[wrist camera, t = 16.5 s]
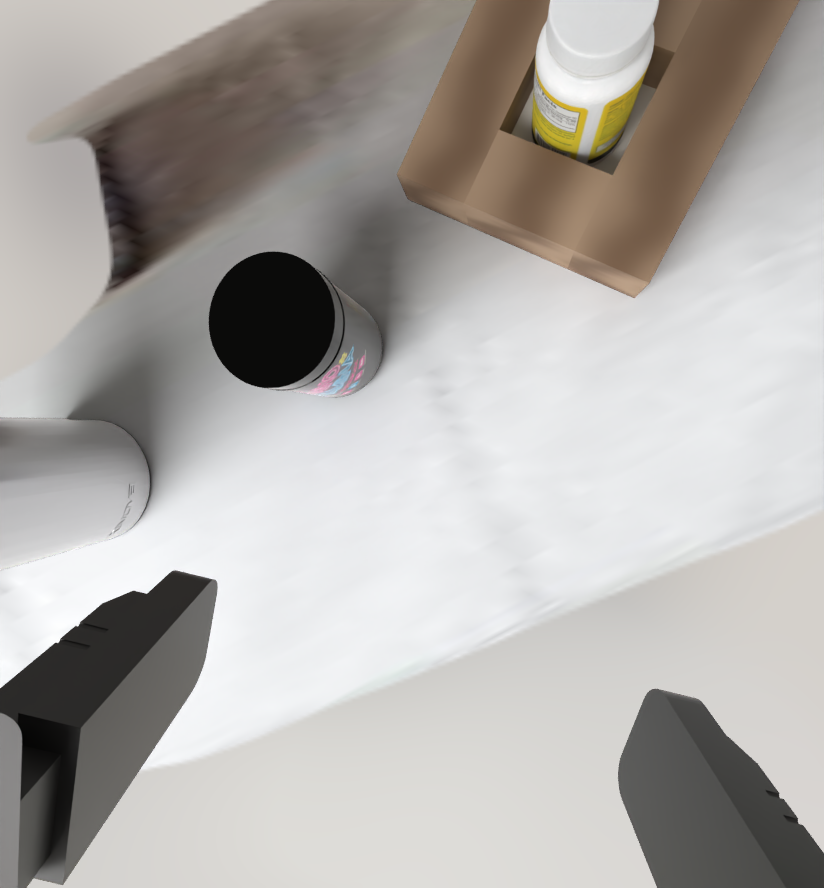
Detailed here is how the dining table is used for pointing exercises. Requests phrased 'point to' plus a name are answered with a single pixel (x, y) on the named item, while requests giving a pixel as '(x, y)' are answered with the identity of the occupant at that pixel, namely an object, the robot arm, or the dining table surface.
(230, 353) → the supplement container
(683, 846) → the robot arm
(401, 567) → the dining table surface
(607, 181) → the walnut pocket block
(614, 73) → the supplement bottle
